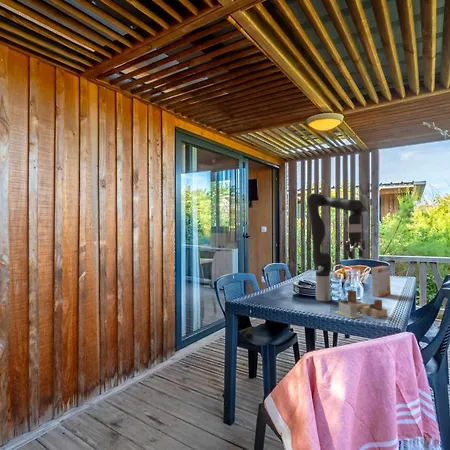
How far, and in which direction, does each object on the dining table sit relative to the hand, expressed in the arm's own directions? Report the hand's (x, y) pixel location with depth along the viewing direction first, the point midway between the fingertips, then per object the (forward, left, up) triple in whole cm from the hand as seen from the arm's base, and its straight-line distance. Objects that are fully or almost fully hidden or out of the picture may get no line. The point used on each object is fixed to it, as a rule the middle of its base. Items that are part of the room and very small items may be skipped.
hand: (355, 257), depth 198 cm
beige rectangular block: (+8, -15, -32) cm, 36 cm away
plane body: (+9, -3, -32) cm, 33 cm away
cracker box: (-16, +41, -32) cm, 55 cm away
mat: (+8, -16, -32) cm, 36 cm away
